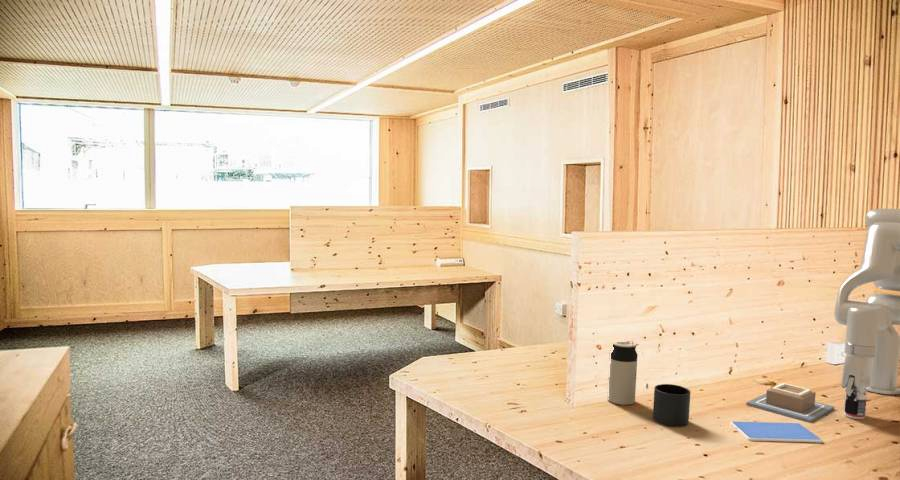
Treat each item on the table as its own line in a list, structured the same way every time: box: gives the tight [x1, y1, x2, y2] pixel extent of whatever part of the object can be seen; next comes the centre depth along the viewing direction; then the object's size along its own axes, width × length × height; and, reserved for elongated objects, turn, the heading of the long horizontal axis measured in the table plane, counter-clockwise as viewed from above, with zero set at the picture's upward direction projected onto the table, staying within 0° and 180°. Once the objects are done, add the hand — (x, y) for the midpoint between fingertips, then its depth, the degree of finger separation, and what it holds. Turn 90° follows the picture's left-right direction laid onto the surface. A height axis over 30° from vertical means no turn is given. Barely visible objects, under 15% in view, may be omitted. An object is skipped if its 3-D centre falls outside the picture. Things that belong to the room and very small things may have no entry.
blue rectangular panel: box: [730, 421, 824, 444], centre depth 175 cm, size 19×13×1 cm, turn 89°
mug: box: [652, 383, 691, 428], centre depth 183 cm, size 9×12×9 cm
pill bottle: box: [843, 387, 867, 420], centre depth 189 cm, size 5×5×9 cm
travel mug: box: [607, 340, 638, 406], centre depth 196 cm, size 8×8×18 cm
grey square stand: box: [745, 382, 835, 423], centre depth 196 cm, size 18×18×6 cm
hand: (854, 410), depth 189 cm, fingers closed on pill bottle, 5 cm apart
